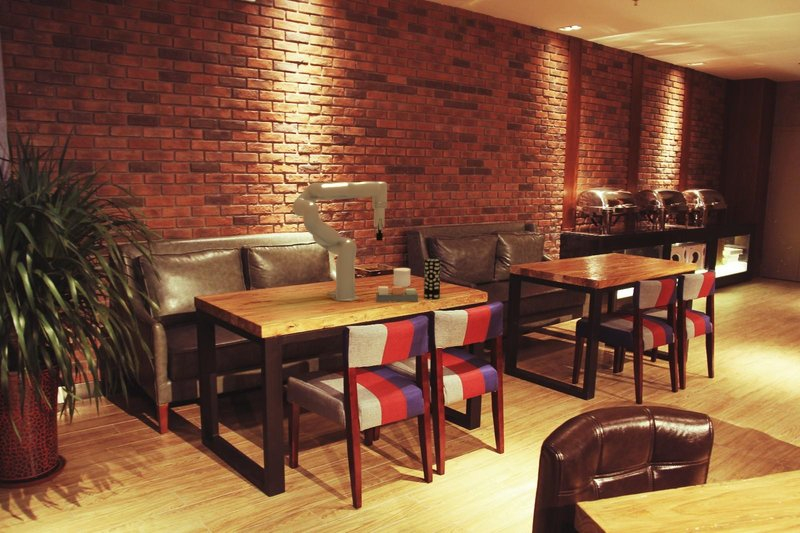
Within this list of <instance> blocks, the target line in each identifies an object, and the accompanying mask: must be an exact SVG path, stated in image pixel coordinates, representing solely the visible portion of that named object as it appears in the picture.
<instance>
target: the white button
mask: <svg viewBox="0 0 800 533" xmlns="http://www.w3.org/2000/svg"><path fill="white" fill-rule="evenodd" d="M377 293H378V295H388V293H389V286H388V285H385V286H383V285H381V286H380V285H379V286H377Z"/></svg>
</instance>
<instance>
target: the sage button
mask: <svg viewBox="0 0 800 533" xmlns="http://www.w3.org/2000/svg"><path fill="white" fill-rule="evenodd" d="M404 292H405V294H406V295H416V293H417V290H416V288H413V287H412V288H411V287H410V288H408V287H405V291H404Z"/></svg>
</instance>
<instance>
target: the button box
mask: <svg viewBox="0 0 800 533" xmlns="http://www.w3.org/2000/svg"><path fill="white" fill-rule="evenodd" d="M375 300H377V301H376V303H390V302H389V301H413V302H412V303H418V302H419V293H417V292H416V295H406V294H405V291H404V292H402V295H392V292H388V295H378V292H375ZM414 301H415V302H414Z"/></svg>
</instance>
